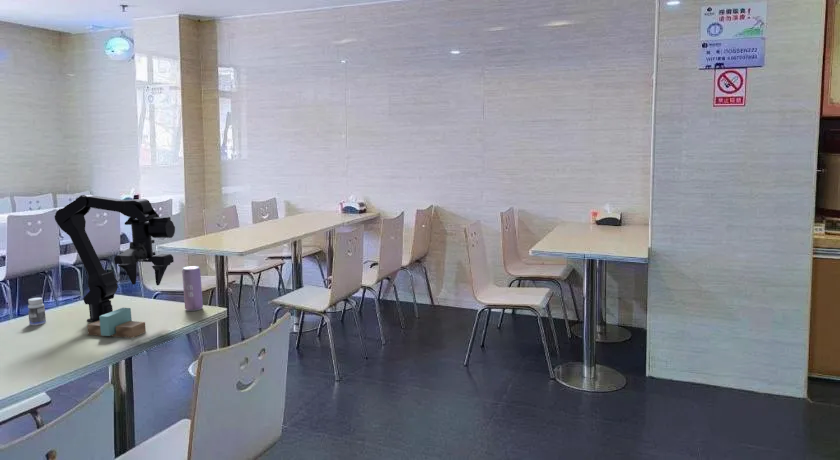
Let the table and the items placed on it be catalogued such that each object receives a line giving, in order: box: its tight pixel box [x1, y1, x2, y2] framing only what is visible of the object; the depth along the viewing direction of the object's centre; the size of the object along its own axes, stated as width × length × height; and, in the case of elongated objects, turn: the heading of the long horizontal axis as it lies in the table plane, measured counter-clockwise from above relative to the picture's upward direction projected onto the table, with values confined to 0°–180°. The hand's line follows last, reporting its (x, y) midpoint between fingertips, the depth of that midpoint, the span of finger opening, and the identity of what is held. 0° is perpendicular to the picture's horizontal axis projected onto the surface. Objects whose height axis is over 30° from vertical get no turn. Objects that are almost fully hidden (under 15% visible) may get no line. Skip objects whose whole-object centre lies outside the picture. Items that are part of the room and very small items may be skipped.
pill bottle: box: [27, 297, 47, 326], centre depth 209 cm, size 5×5×8 cm
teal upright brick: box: [99, 307, 133, 337], centre depth 196 cm, size 3×10×6 cm, turn 165°
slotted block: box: [86, 320, 146, 339], centre depth 196 cm, size 16×6×3 cm, turn 76°
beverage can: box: [181, 265, 204, 312], centre depth 222 cm, size 6×6×15 cm
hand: (145, 284), depth 209 cm, fingers open, 9 cm apart
